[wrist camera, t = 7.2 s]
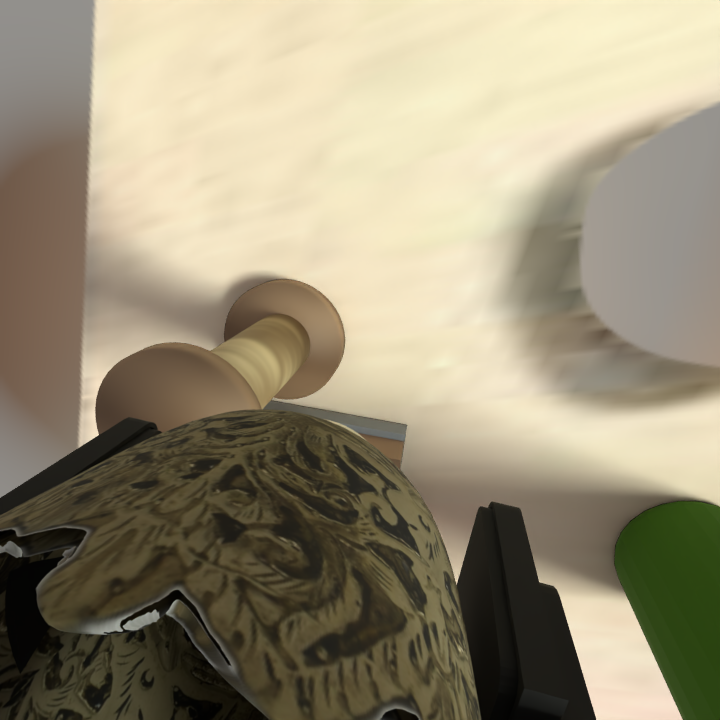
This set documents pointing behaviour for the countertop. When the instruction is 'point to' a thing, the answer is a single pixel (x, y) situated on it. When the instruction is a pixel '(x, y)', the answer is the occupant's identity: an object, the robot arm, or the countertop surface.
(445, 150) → the countertop surface
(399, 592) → the cup
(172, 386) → the bobbin post
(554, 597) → the robot arm
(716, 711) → the wine bottle
